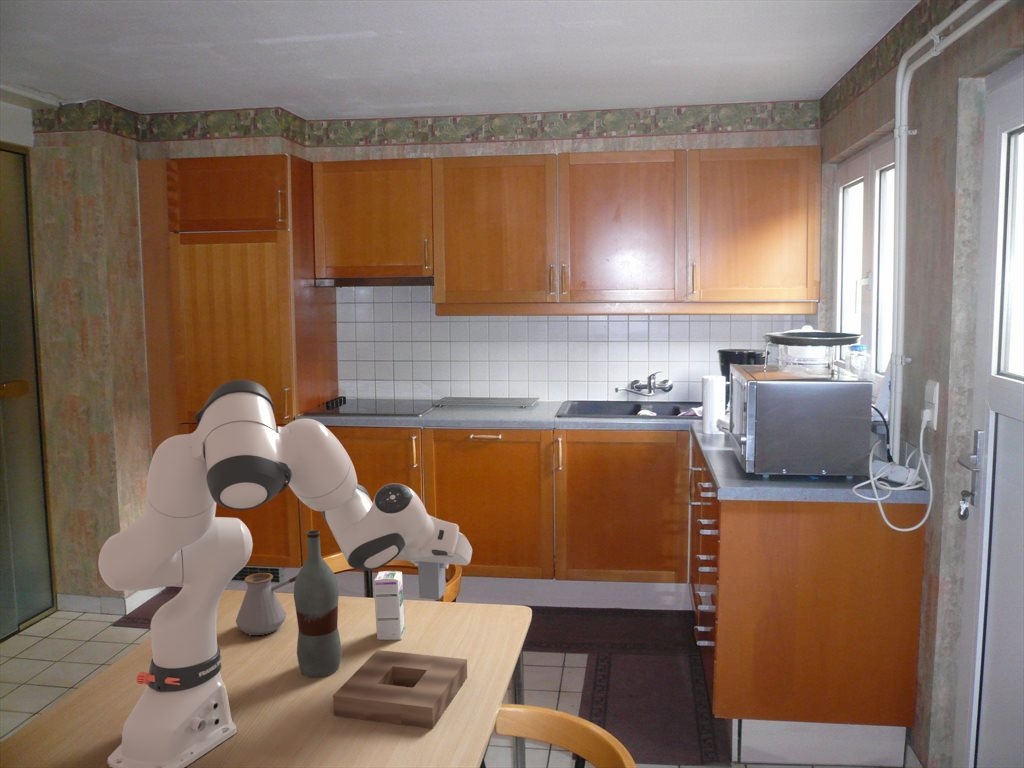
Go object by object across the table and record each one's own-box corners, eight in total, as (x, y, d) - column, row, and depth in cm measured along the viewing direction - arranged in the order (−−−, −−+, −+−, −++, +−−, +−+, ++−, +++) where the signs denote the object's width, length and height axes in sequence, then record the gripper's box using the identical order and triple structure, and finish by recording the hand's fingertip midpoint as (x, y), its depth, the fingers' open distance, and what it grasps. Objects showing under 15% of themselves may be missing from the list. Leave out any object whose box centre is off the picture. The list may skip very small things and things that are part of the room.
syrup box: (401, 640, 189) (399, 579, 187) (376, 640, 189) (373, 579, 187) (405, 629, 194) (403, 570, 193) (380, 630, 194) (377, 570, 193)
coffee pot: (231, 641, 190) (227, 578, 188) (242, 621, 202) (239, 561, 200) (324, 635, 192) (321, 573, 190) (331, 616, 203) (328, 557, 201)
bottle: (288, 673, 173) (280, 535, 170) (316, 655, 182) (309, 523, 178) (324, 682, 169) (317, 540, 166) (351, 663, 178) (344, 528, 174)
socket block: (433, 728, 151) (432, 707, 150) (333, 715, 156) (332, 695, 156) (467, 677, 170) (466, 659, 169) (378, 667, 175) (377, 649, 175)
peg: (438, 599, 177) (437, 555, 176) (419, 597, 178) (417, 553, 177) (445, 591, 181) (444, 548, 180) (426, 590, 182) (425, 546, 181)
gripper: (364, 545, 169) (384, 574, 180) (459, 553, 164) (474, 581, 175) (372, 518, 173) (391, 547, 184) (465, 524, 168) (479, 554, 179)
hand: (432, 564), depth 179 cm, fingers closed on peg, 4 cm apart
